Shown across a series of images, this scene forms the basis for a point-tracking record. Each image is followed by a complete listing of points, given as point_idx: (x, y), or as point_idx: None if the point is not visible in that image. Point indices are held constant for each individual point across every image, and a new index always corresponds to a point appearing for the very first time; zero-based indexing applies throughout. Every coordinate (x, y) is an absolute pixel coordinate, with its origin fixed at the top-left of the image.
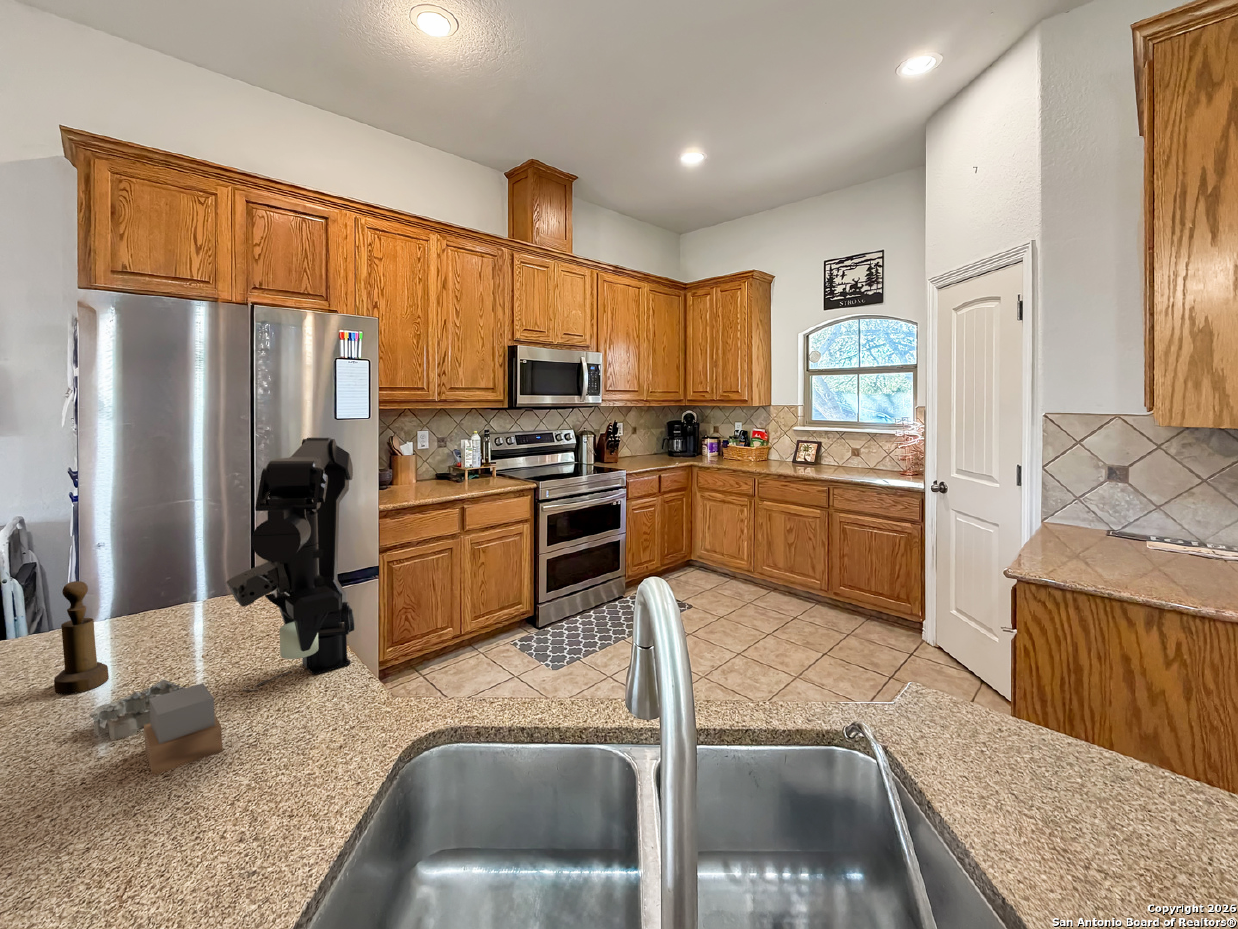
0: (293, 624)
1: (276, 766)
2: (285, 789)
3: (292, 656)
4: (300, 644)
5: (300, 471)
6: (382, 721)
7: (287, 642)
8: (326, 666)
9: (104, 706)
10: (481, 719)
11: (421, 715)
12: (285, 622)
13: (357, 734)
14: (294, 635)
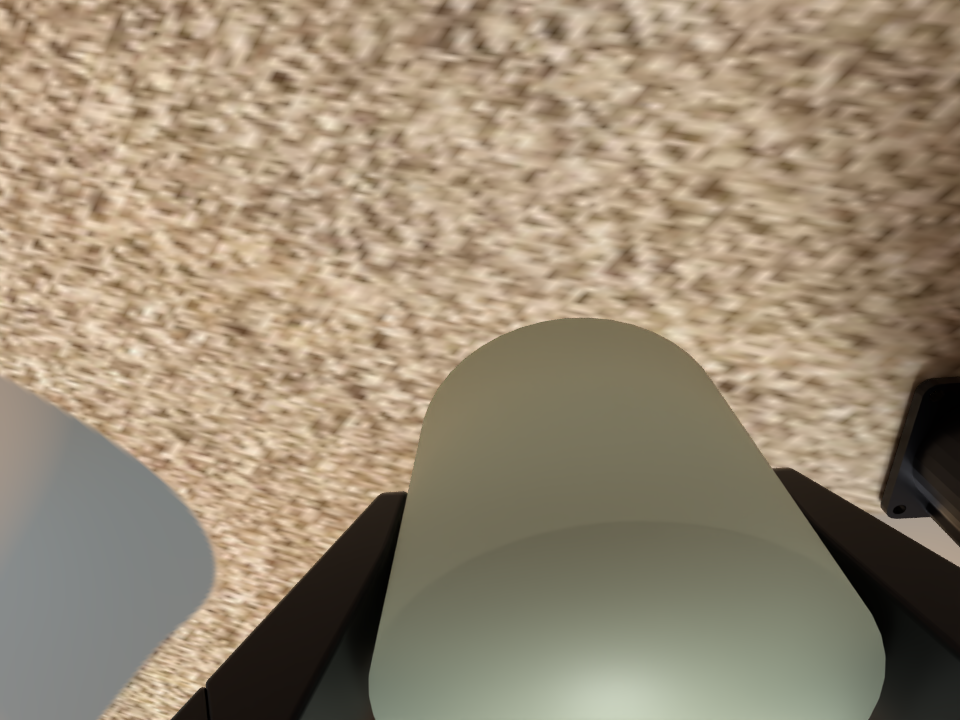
0: (761, 680)
1: (207, 98)
2: (22, 102)
3: (436, 401)
4: (339, 545)
5: None
6: (340, 471)
7: (454, 466)
8: (929, 440)
9: None
10: (203, 647)
11: (311, 558)
12: (940, 637)
13: (297, 391)
14: (390, 598)
